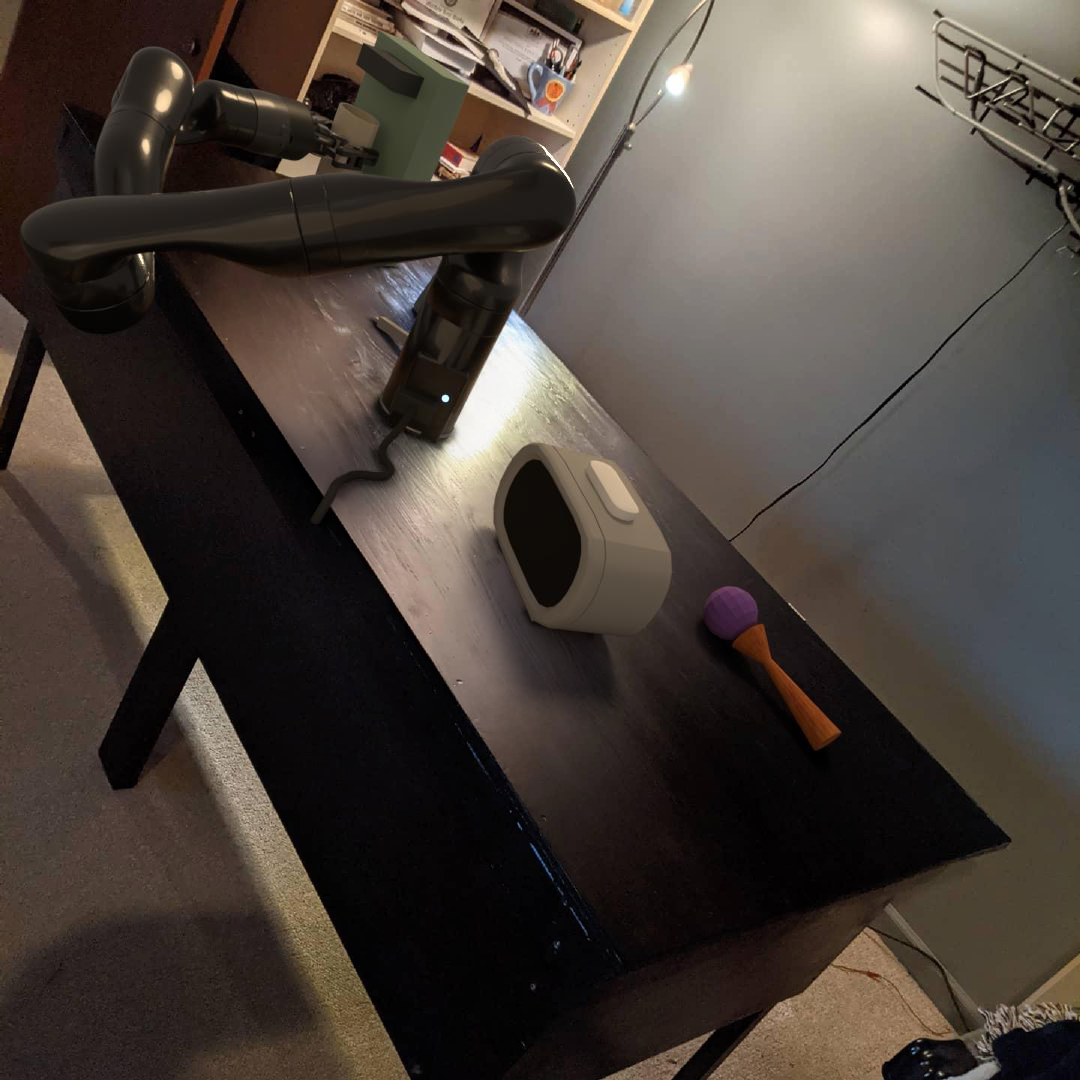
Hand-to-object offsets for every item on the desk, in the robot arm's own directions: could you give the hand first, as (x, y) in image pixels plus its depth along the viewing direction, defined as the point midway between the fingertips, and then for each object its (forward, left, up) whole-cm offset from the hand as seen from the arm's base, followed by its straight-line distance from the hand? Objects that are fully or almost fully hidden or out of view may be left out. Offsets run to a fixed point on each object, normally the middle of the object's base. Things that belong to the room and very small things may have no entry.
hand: (361, 147), depth 124 cm
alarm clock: (-67, -37, -15) cm, 78 cm away
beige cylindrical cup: (-2, +2, -6) cm, 7 cm away
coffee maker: (+1, 0, -15) cm, 15 cm away
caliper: (-30, -18, -15) cm, 38 cm away
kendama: (-69, -63, -15) cm, 94 cm away
